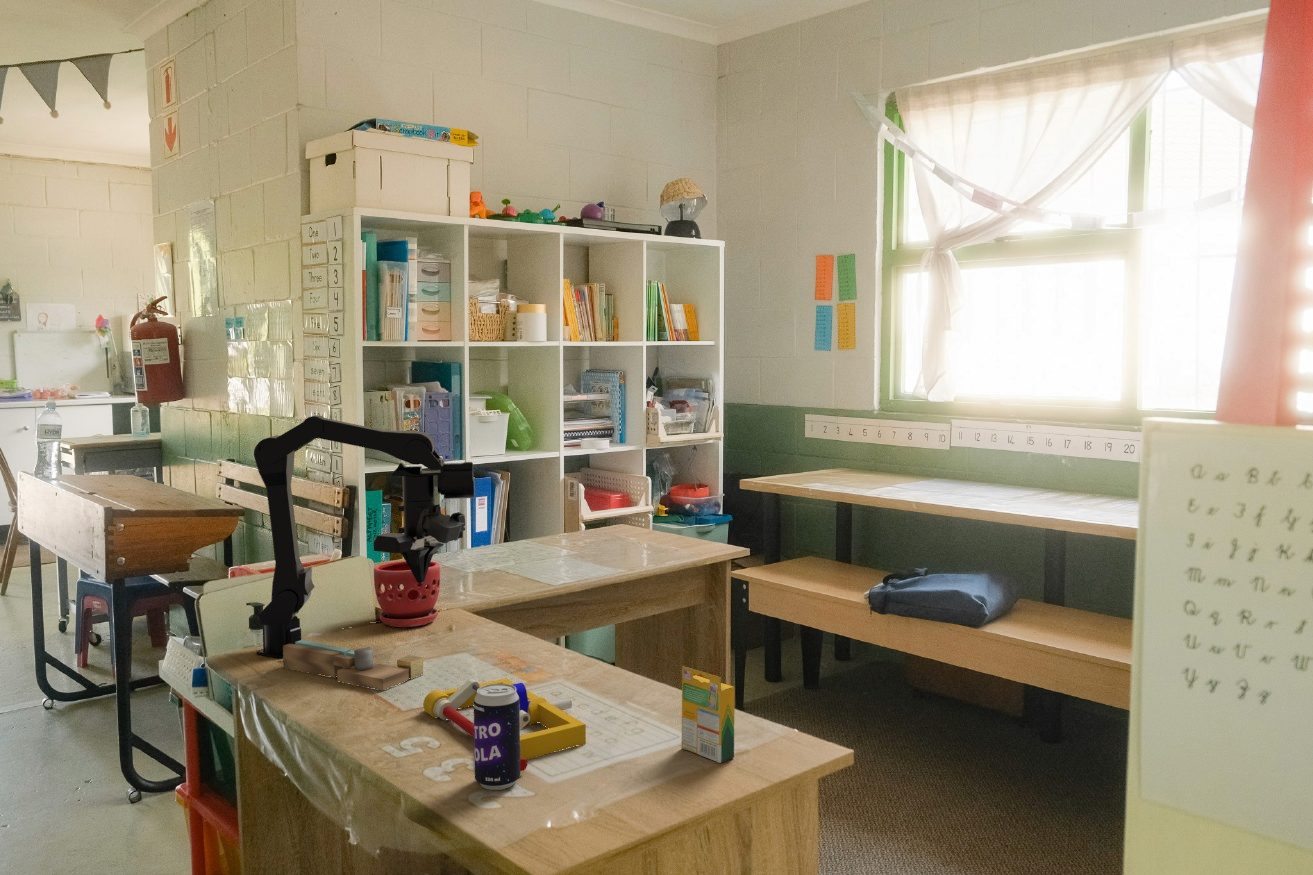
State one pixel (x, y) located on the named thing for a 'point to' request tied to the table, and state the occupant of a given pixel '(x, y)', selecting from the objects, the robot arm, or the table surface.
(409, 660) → the block
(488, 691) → the beverage can
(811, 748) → the table surface
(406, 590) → the plant pot
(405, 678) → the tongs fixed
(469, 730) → the mechanical clamp
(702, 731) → the crayon box
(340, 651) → the bar
